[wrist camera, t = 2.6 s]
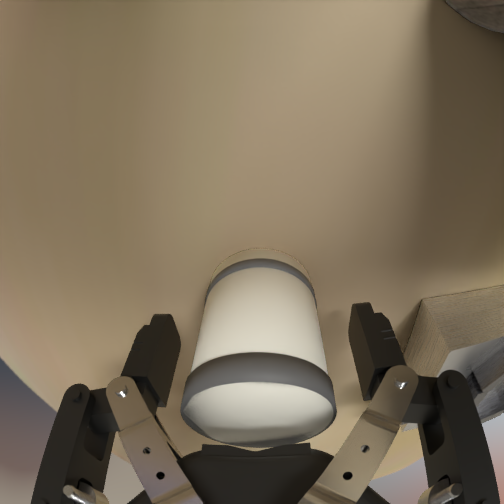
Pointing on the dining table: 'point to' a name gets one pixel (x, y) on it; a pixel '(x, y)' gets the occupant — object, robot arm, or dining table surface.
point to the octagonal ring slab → (462, 345)
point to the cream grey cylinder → (259, 356)
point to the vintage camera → (481, 12)
